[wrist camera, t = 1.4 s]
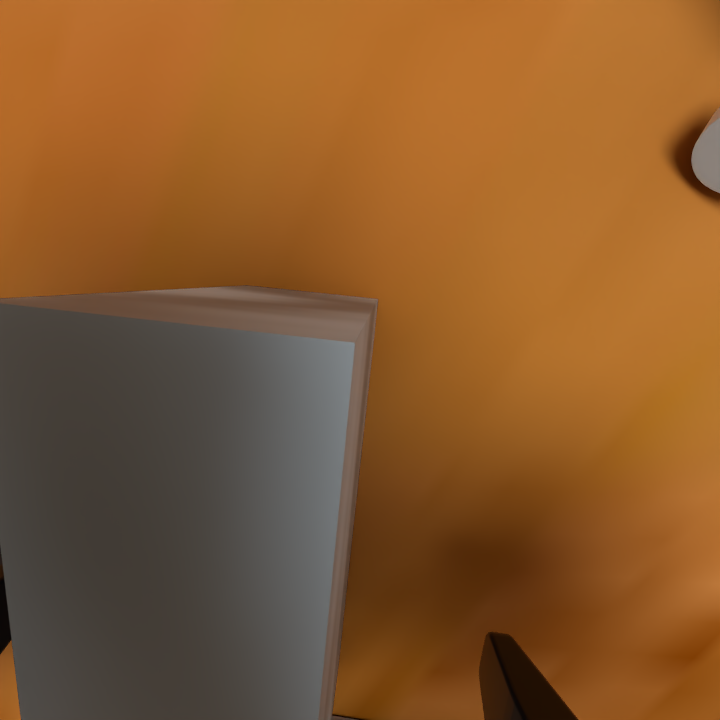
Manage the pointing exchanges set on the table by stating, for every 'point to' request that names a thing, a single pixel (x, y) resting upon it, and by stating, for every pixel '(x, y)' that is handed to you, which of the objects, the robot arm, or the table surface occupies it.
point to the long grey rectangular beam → (180, 499)
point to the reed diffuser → (708, 154)
